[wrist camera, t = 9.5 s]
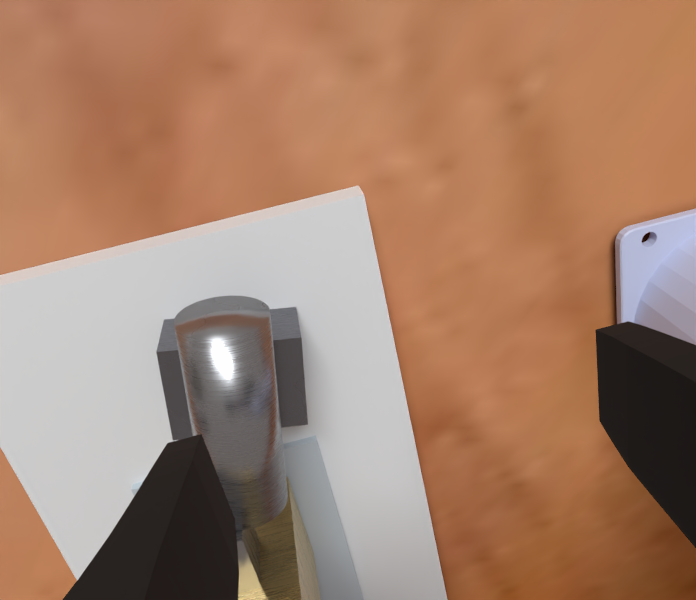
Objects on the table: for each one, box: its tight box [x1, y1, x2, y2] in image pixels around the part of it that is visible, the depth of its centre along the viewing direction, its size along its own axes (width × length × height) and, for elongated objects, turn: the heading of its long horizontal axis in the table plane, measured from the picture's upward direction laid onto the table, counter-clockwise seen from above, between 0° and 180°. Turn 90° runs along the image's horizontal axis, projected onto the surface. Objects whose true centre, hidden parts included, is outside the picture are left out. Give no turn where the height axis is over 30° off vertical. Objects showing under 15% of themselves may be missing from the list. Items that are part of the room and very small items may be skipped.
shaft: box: [156, 296, 308, 530], centre depth 19 cm, size 6×4×4 cm, turn 2°
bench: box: [0, 186, 447, 600], centre depth 25 cm, size 13×25×1 cm, turn 12°
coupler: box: [236, 477, 320, 600], centre depth 21 cm, size 4×8×5 cm, turn 12°
